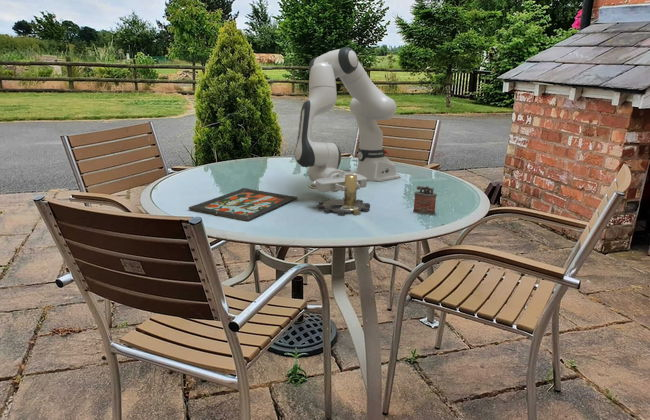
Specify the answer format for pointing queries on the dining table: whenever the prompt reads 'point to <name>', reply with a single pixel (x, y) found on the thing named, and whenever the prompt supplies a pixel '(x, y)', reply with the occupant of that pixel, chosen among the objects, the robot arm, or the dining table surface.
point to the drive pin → (350, 190)
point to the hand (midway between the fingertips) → (351, 188)
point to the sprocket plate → (343, 207)
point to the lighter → (424, 200)
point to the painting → (244, 204)
